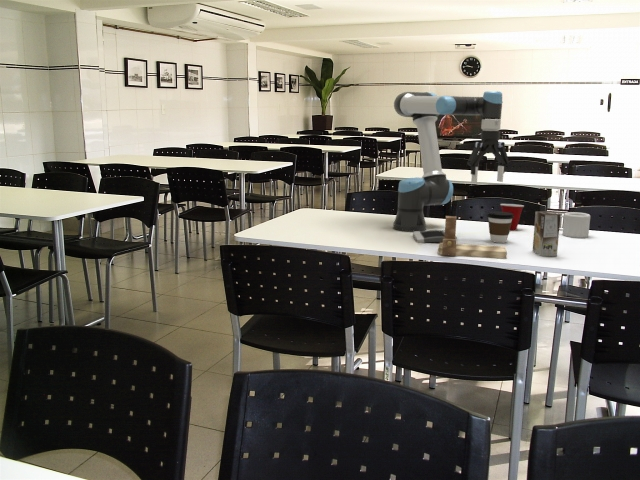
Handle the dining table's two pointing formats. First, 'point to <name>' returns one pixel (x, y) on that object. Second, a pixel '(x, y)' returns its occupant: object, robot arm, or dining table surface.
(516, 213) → the plastic cup
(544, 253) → the coffee box
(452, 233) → the gauge
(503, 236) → the coffee cup
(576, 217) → the mug
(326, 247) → the dining table surface
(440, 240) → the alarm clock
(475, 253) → the board
